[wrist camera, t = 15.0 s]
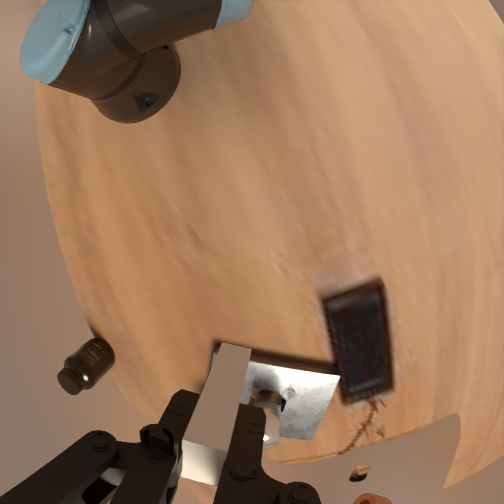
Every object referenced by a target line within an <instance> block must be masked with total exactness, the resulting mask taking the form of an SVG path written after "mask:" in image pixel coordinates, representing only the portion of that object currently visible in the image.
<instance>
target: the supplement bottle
mask: <svg viewBox="0 0 504 504" xmlns="http://www.w3.org/2000/svg"><path fill="white" fill-rule="evenodd" d="M114 363H115V356H114V353H113V351H112V349H111V348H110V346H109V345H108V344H107V343H106V342H104V341H103V340H101V339H98V338H93V339H91V340H89V341H88V342H86V343H85V344H84V345H83V346H81V347H80V348H79V349H78V350H76V351H75V352H74V353H73V354H72V355H70V356H69V357H68V358H67V359H66V360H65V363H64V368H63V369H62V370H61V371H60V372H59V373H58V375H57V377H58V381H59V383H60V385H61V386H62V388H63V389H64V390H65V391H67V392H68V393H69V394H71V395H77V394H78V393H79V392H80V391H82V390H83V389H84V390H88V389H91V388H92V387H93V386H94V385H95V384H96V383H97V382H98V381H99V380H100V379H101V378H102V377H103V376H104V375H105V374H106V373H107V372H108V371H109V370H110V369H111V368H112V367H113V365H114Z"/></svg>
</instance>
